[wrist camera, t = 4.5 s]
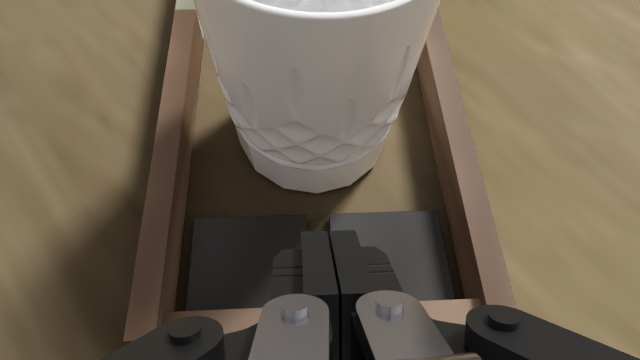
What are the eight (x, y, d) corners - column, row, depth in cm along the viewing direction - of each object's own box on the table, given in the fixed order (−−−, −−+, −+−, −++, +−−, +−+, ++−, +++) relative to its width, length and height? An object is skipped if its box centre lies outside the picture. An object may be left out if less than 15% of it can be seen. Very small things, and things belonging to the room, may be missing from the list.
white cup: (207, 191, 20) (129, -7, 11) (249, 58, 23) (217, -165, 15) (389, 220, 19) (460, 37, 10) (402, 80, 23) (461, -138, 14)
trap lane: (142, 352, 16) (111, 335, 14) (197, -53, 28) (185, -104, 25) (498, 334, 17) (533, 315, 14) (406, -54, 29) (417, -104, 26)
